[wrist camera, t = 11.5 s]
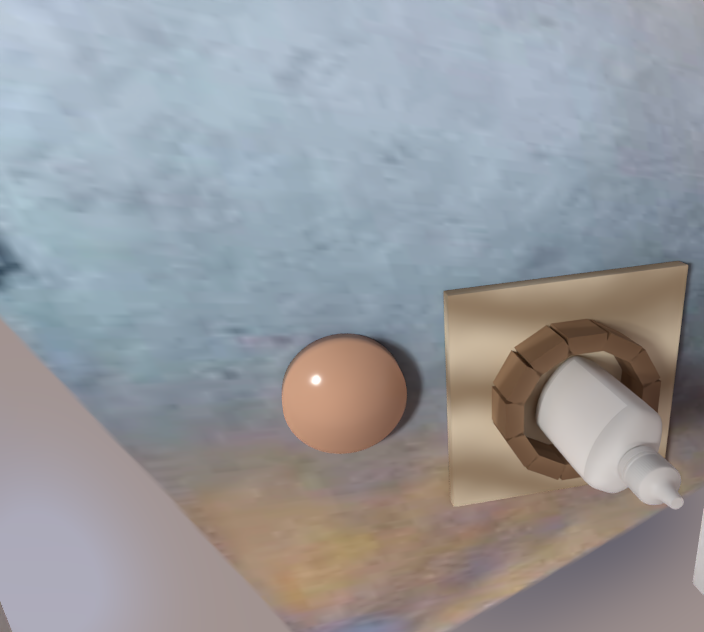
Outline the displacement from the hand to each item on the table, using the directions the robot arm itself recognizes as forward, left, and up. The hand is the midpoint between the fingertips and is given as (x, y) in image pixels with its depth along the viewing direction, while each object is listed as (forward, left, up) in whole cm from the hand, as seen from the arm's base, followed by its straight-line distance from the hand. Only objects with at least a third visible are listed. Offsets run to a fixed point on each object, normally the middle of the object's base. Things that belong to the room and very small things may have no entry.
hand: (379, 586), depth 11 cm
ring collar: (+12, +17, -27) cm, 34 cm away
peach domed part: (+10, +2, -27) cm, 29 cm away
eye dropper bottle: (+12, +17, -26) cm, 33 cm away
